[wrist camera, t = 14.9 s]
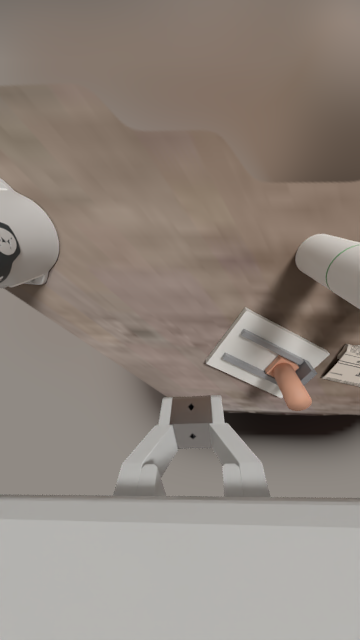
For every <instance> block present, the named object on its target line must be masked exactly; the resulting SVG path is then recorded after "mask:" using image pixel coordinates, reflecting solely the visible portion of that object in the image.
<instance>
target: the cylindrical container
mask: <svg viewBox="0 0 360 640" xmlns="http://www.w3.org/2000/svg"><path fill="white" fill-rule="evenodd" d="M295 262H296V265H297V267H298V269H299V270H300V271H302V272H303V273H305V274H306V275H308V276H309V277H311V278H312V279H314V280H316V281H317V282H319V283H320V284H322V285H323V286H325V287H326V288H328V289H329V290H331V291H332V292H334V293H335V294H337V295H338V296H340V297H341V298H343V299H345V300H346V301H348V302H349V303H351V304H352V305H354V306H355V307H357V308H358V309H360V243H359V242H355V241H351V240H347V239H343V238H339V237H335V236H331V235H327V234H317V235H314V236H311V237H309V238H308V239H306V240H305V241H304V242H303V243H302V244H301V245H300V247H299V248H298V250H297V253H296V257H295Z"/></svg>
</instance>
